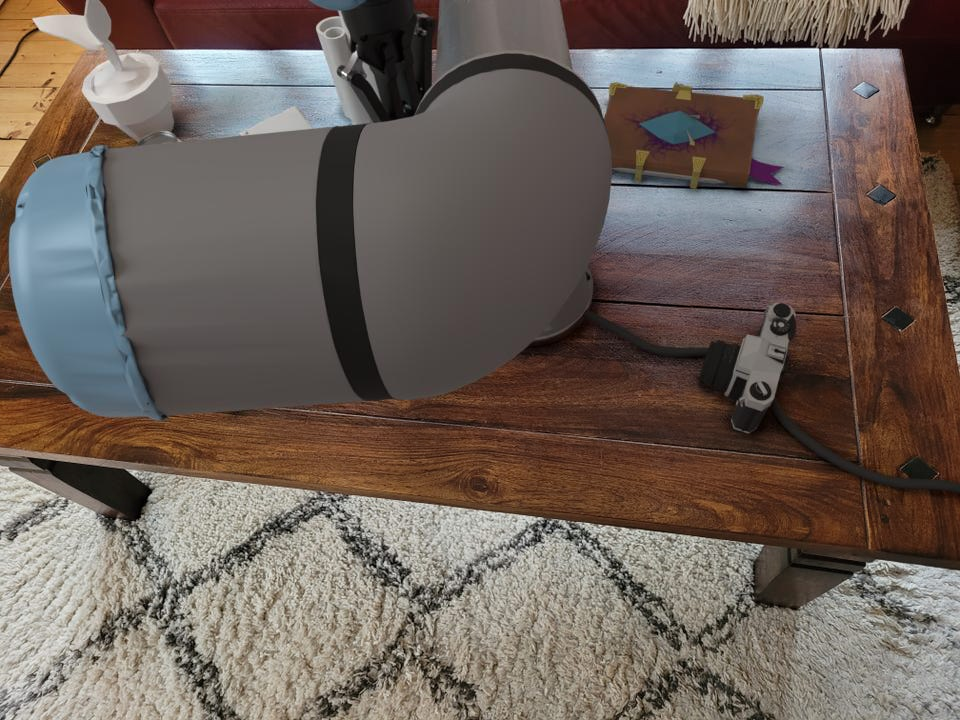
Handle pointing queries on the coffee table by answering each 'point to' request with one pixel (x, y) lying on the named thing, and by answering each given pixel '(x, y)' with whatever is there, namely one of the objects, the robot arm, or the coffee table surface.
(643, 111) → the book
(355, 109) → the vase
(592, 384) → the coffee table surface
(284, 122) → the small box
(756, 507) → the coffee table surface
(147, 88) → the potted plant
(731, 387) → the camera
